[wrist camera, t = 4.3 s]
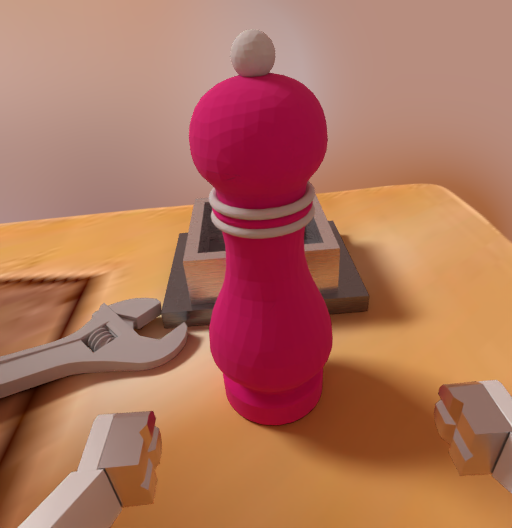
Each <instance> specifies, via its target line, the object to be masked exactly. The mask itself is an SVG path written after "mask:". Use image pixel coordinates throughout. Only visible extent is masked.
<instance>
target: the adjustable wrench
mask: <svg viewBox="0 0 512 528" xmlns="http://www.w3.org/2000/svg"><path fill="white" fill-rule="evenodd" d="M161 312H162V310H161V302H160V301H159V300H157V299H153V298H135V299H129V300H125V301H121V302H117V303H114V304H111V305H109V306H107V305H106V304H105V303H103V304H102V305H101V306H100V309H99V311H96V312H95V313H94V314H93V315H92V319H91V320H90V321H89V322H88V323H87V324H85V325H84V326H83V327H82V328H81V329H79V330H78V331H76V332H75V333H73V334H71V335H69V336H67V337H65V338H63V339H60V340H57V341H54V342H51V343H48V344H44V345H41V346H37V347H34V348H30V349H27V350H23V351H19V352H16V353H12V354H9V355H5V356H2V357H0V398H3V397H6V396H9V395H12V394H14V393H17V392H20V391H23V390H26V389H29V388H32V387H35V386H38V385H41V384H44V383H47V382H50V381H53V380H56V379H59V378H62V377H66V376H69V375H73V374H81V373H97V372H108V371H142V370H148V369H152V368H155V367H159V366H161V365H163V364H165V363H167V362H168V361H170V360H171V359H173V358H174V357H175V356H176V355H177V354H178V353H179V352H180V351H181V350H182V348H183V347H184V346H185V344H186V341H187V337H188V333H187V325H186V324H185V322H183V323H182V324H181V325H179V326H178V327H176V328H175V329H174V330H172V331H171V332H170V333H168V334H167V335H165V336H164V337H163V338H161V339H160V340H159V339H154V338H149V337H144V336H139V335H138V334H137V333H136V332H135V331H134V328H135V329H138V330H139V329H140V328H142V327H143V326H145V325H146V324H148V323H149V322H151V321H152V320H154V319H155V318H156V317H158V316H159V315H161ZM88 347H89V348H90V349H91V350H92V351H93V352H94V353H93V352H92V351H91V350H90V349H89V348H88Z"/></svg>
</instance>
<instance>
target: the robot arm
mask: <svg viewBox="0 0 512 528" xmlns="http://www.w3.org/2000/svg"><path fill="white" fill-rule="evenodd" d="M438 394H439V396H440V398H441V400H440V401H438V402H437V403H436V404H435V409H434V419H435V424H436V427H437V430H438V432H439V434H440V436H441V438H442V439H443V440H445V441H446V442H447V443H449V444H450V449H449V455H450V457H451V459H452V461H453V463H454V465H455V467H456V469H457V470H458V472H459V474H460V476H467V475H484V474H492V476H493V477H494V478H495V479H496V480H497V481H498V482H499V483H500V484H502V485H503V486H504V487H505V488H506V489H507V490H508V491H509V492H511V493H512V397H511V396H510V394H509V393H508V392H507V390H506V389H505V388H504V386H503V385H502V383H501V382H499V381H498V380H489V381H479V382H476V381H474V382H464V383H455V384H445V385H442V386H441V387H440V389H439V392H438ZM155 420H156V418H155V415H154V412H153V411H148V412H132V413H115V414H103V415H98V416H97V417H96V419H95V420H94V422H93V425H92V428H91V431H90V434H89V437H88V440H87V443H86V446H85V449H84V452H83V455H82V458H81V461H80V464H79V467H78V469H77V471H75V472H71V473H70V474H69V475H68V476H67V477H66V478H65V479H64V480H63V481H62V482H61V483H60V484H59V485H58V486H57V487H56V488H55V489H54V490H53V492H52V493H51V494H50V495H49V496H48V497H47V498H46V499H45V500H44V501H43V502H42V503H41V504H40V505H39V506H38V507H37V508H36V509H35V510H34V511H33V512H32V513H31V514H30V515H29V516H28V517H27V518H26V519H25V520H24V521H23V522H22V524H21V525H20V526H19V527H18V528H110V527H111V525H112V524H113V522H114V521H115V519H116V518H117V516H118V515H119V514H120V512H121V511H122V507H130V506H138V505H147V504H154V498H155V492H156V485H157V476H156V473H155V469H156V467H157V466H158V465H159V464H160V460H161V450H162V441H161V434H160V430H159V428H157V427H156V426H155Z"/></svg>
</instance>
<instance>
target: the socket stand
mask: <svg viewBox="0 0 512 528" xmlns="http://www.w3.org/2000/svg"><path fill="white" fill-rule="evenodd" d="M313 204H314V207H315V214H314V217H313V219H312V220H311V221H310V222H309V223H308V224H307V225H306V226H305V231H304V250H305V257H306V261H307V264H308V268H309V271H310V273H311V276H312V278H313V280H314V282H315V284H316V286H317V288H318V289H319V291H320V293H321V295H322V297H323V299H324V301H325V303H326V306H327V309H328V312H329V314H336V313H348V312H360V311H368V301H369V294H368V292H367V290H366V288H365V286H364V284H363V282H362V280H361V278H360V276H359V274H358V272H357V270H356V267H355V265H354V263H353V261H352V259H351V257H350V255H349V253H348V251H347V249H346V247H345V245H344V243H343V241H342V238H341V236H340V234H339V232H338V230H337V228H336V226H335V224H334V222H333V221H327V218H326V216H325V214H324V212H323V210H322V208H321V205H320V203H319V201H318V199H317V197H316V194H315V197H314V199H313ZM211 213H212V207H211V205H210V203H209V198H199V199H195V202H194V206H193V212H192V217H191V222H190V227H189V232H188V233H180V234H179V238H178V243H177V247H176V251H175V256H174V260H173V264H172V268H171V273H170V277H169V281H168V286H167V290H166V294H165V299H164V303H163V307H162V312H161V315H162V319H163V323H164V327H165V328H172V327H178V326H179V325H181V324H182V323H183V322H185V324H186V325H187V326H196V325H207V324H210V321H211V316H212V312H213V308H214V305H215V303H216V300H217V297H218V295H219V293H220V291H221V288H222V286H223V283H224V279H225V271H226V250H225V242H224V238H223V233H222V231H221V230H220V229H218V228H217V227H216V226H215V225H214V223H213V222H212V219H211Z"/></svg>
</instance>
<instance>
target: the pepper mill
mask: <svg viewBox="0 0 512 528" xmlns="http://www.w3.org/2000/svg"><path fill="white" fill-rule="evenodd" d="M230 57H231V62H232V65H233V67H234V69H235V70H236V72H237V73H238V74H239V75H238V76H235V77H232V78H229V79H226V80H224V81H222V82H220V83H218V84H217V85H215V86H214V87H213V88H211V89H210V90H209V91H208V92H207V93H206V94H205V95H204V96H203V97H202V98H201V99H200V101H199V102H198V104H197V106H196V107H195V109H194V112H193V115H192V118H191V122H190V129H189V142H190V150H191V155H192V159H193V161H194V164H195V166H196V168H197V170H198V171H199V173H200V174H201V175H202V177H204V178H205V179H206V180H207V181H208V182H209V183H210V184H211V185H213V187H214V188H213V189H212V190H211V192H210V194H209V203H210V205H211V207H212V213H211V219H212V222H213V223H214V225H215V226H216V227H217V228H218V229H220V230H221V231H222V233H223V238H224V242H225V250H226V271H225V279H224V283H223V286H222V288H221V291H220V293H219V295H218V297H217V300H216V303H215V305H214V308H213V312H212V316H211V321H210V327H209V336H210V349H211V353H212V356H213V358H214V361H215V363H216V365H217V366H218V367H219V369H220V370H221V371H222V372H223V377H224V383H225V389H226V395H227V398H228V401H229V402H230V404H231V405H232V407H233V408H234V409H235V410H236V411H237V412H238V413H239V414H240V415H241V416H243V417H244V418H246V419H248V420H250V421H253V422H256V423H259V424H264V425H282V424H287V423H292V422H294V421H296V420H298V419H300V418H302V417H304V416H305V415H307V414H308V413H309V412H310V411H311V410H312V409H313V408H314V407H315V406H316V404H317V403H318V401H319V399H320V396H321V393H322V384H323V366H324V365H325V363H326V362H327V360H328V357H329V355H330V352H331V348H332V324H331V319H330V315H329V312H328V309H327V306H326V303H325V301H324V299H323V297H322V295H321V293H320V291H319V289H318V288H317V286H316V284H315V282H314V280H313V278H312V276H311V273H310V271H309V268H308V264H307V261H306V257H305V250H304V231H305V226H306V225H307V224H308V223H309V222H310V221H311V220H312V219H313V217H314V214H315V207H314V204H313V199H314V197H315V190H314V187H313V185H312V184H311V183H310V182H309V181H308V180H309V179H310V177H311V176H312V175H313V174H314V173H315V172H316V171H317V169H318V168H319V166H320V164H321V162H322V161H323V159H324V156H325V153H326V149H327V141H328V139H327V126H326V120H325V116H324V112H323V109H322V107H321V105H320V103H319V101H318V99H317V98H316V97H315V95H314V94H313V93H312V92H311V91H310V90H309V89H308V88H307V87H306V86H305V85H304V84H302V83H300V82H299V81H297V80H295V79H292V78H290V77H287V76H284V75H279V74H274V73H269V72H270V70H271V69H272V67H273V65H274V61H275V48H274V45H273V43H272V40H271V39H270V38H269V37H268V36H267V35H266V34H265V33H264V32H262V31H259V30H247V31H244V32H243V33H241V34H240V35H238V36H237V38H236V39H235V40H234V42H233V44H232V48H231V55H230Z"/></svg>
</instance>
